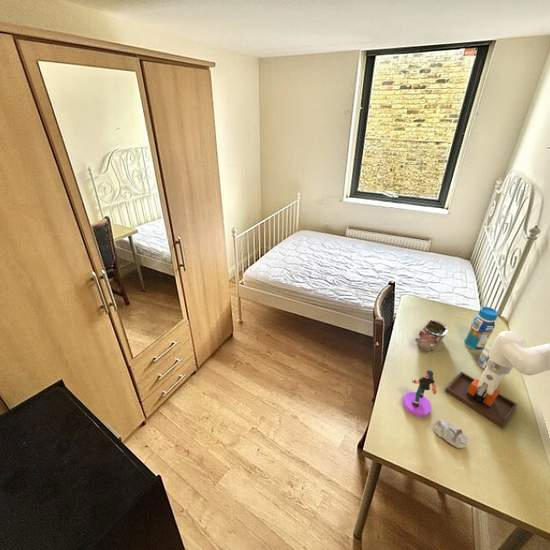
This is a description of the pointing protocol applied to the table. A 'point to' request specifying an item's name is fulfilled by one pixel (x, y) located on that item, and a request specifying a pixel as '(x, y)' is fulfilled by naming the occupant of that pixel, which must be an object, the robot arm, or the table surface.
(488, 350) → the pill bottle
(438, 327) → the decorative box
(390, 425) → the table surface
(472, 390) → the orange rectangular block
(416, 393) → the figurine
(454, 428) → the stone
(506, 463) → the table surface
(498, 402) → the tray
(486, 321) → the blue lidded jar
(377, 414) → the table surface
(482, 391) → the robot arm
